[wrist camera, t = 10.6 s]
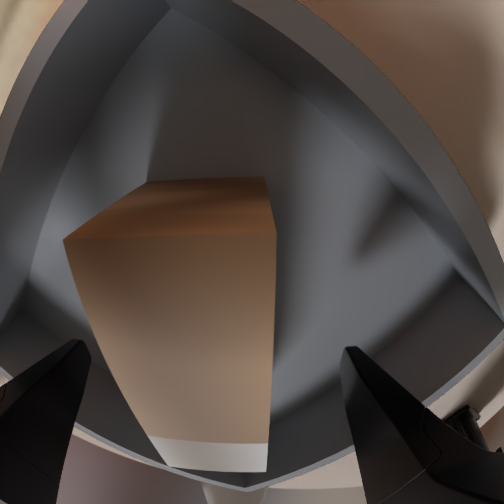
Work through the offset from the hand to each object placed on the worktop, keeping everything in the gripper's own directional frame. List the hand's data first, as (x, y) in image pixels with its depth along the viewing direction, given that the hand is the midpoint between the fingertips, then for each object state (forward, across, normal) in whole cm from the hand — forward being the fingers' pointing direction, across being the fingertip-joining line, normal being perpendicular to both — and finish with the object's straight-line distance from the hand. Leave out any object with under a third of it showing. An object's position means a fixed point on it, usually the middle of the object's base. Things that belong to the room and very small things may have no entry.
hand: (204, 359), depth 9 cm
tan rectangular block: (+3, 0, 0) cm, 3 cm away
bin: (+4, 0, 0) cm, 4 cm away
